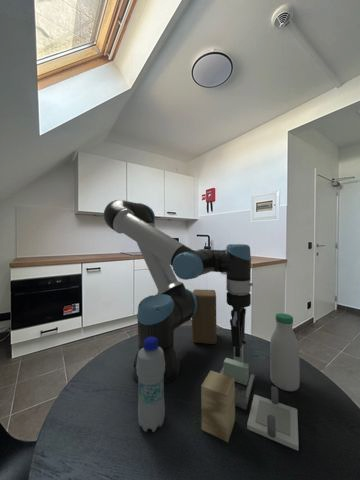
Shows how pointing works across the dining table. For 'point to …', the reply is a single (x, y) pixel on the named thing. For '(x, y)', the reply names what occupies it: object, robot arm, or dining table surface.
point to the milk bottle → (284, 354)
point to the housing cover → (237, 370)
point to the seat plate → (279, 435)
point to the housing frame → (242, 393)
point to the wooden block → (204, 317)
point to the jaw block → (218, 405)
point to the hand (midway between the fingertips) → (238, 364)
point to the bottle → (151, 385)
